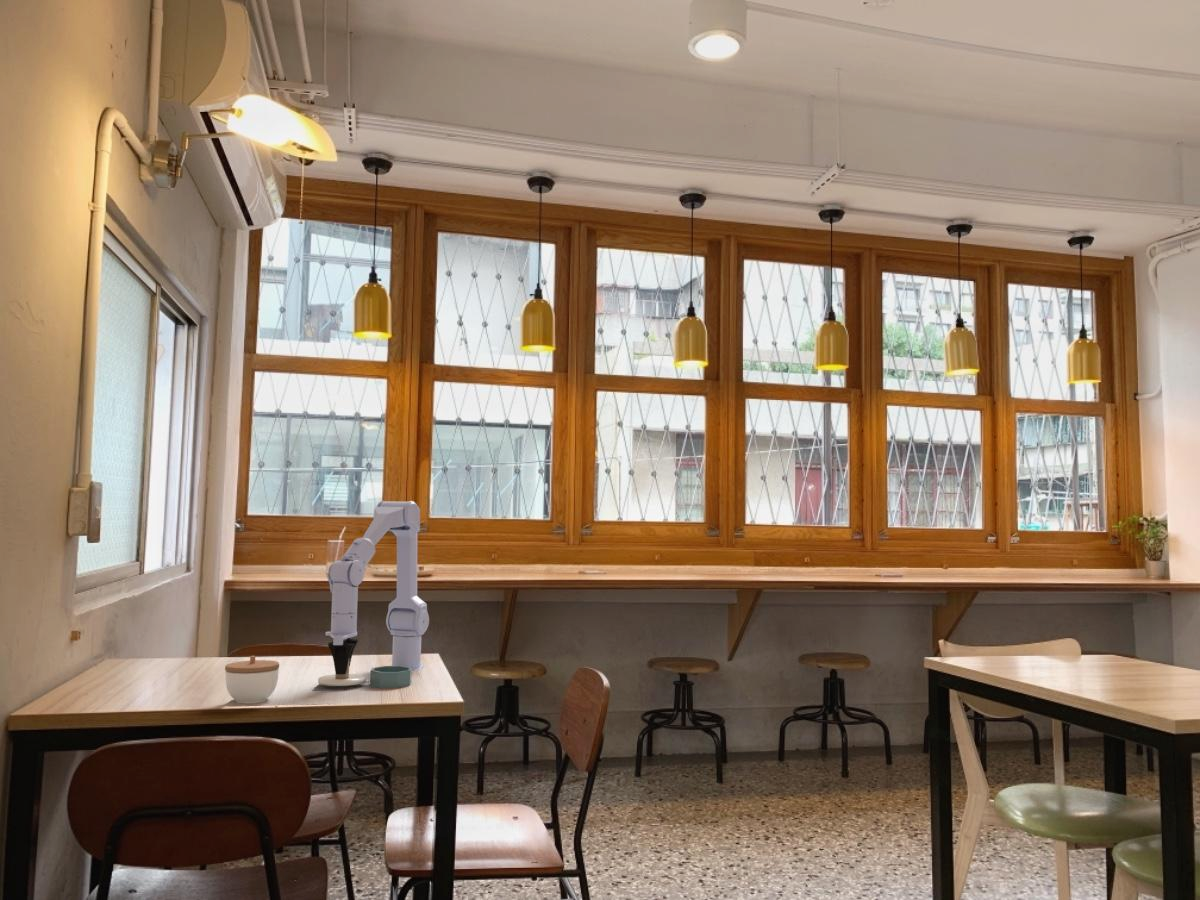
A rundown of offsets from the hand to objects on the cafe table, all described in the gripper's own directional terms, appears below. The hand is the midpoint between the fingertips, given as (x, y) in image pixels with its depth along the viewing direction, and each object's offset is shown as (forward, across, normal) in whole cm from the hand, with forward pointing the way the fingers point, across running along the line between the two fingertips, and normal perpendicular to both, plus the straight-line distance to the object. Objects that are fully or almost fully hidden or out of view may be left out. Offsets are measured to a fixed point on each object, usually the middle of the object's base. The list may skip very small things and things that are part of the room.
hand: (342, 672), depth 210 cm
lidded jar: (+3, +15, -16) cm, 22 cm away
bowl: (+3, -1, +11) cm, 12 cm away
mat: (+3, 0, 0) cm, 3 cm away
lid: (+2, 0, 0) cm, 2 cm away
